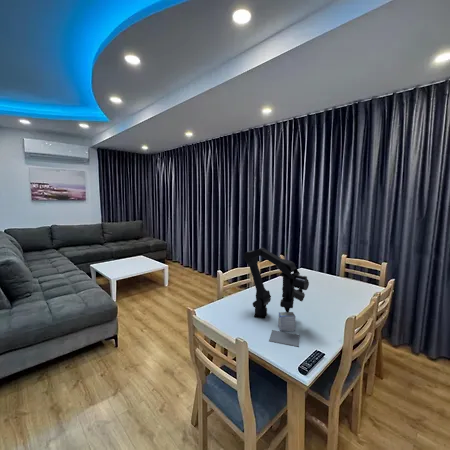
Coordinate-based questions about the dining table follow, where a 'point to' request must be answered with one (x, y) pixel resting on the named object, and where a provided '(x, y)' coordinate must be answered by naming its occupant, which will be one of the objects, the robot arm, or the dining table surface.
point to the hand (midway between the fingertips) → (287, 312)
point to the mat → (284, 338)
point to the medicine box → (286, 321)
